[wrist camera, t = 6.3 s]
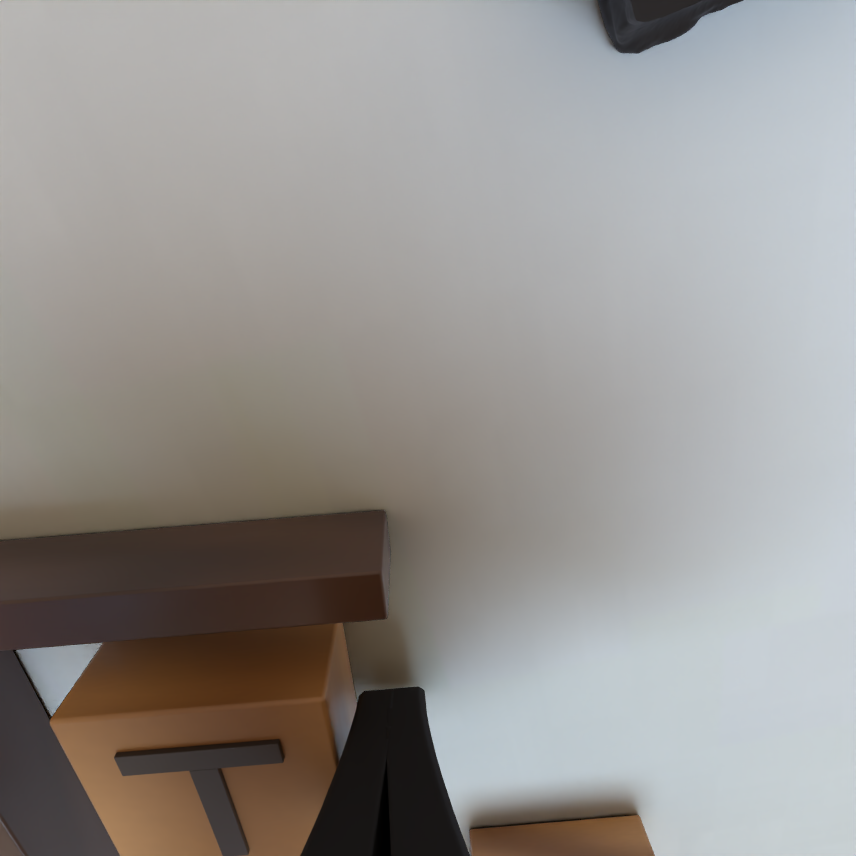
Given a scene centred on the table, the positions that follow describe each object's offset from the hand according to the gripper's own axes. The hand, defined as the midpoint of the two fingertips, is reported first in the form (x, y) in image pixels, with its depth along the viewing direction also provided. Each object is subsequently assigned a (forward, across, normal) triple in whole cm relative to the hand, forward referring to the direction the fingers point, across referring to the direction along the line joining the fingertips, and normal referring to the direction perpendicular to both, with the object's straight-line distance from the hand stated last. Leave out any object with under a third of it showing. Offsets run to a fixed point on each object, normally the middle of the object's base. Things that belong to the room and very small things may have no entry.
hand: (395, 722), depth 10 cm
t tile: (+1, +3, 0) cm, 3 cm away
